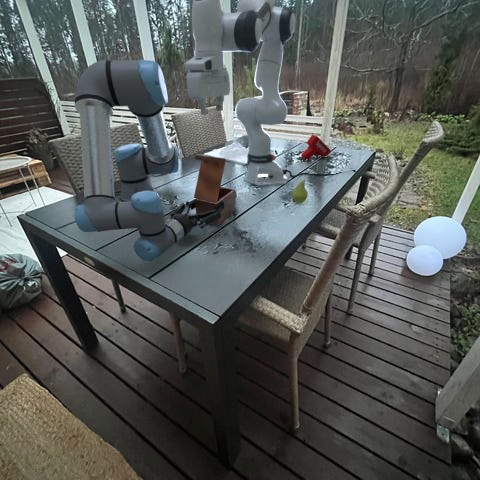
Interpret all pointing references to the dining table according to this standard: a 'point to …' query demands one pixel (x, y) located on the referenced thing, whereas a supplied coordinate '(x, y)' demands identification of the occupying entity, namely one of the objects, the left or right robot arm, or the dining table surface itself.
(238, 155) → the relief map
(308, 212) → the dining table surface
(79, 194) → the dining table surface
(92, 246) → the dining table surface
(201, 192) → the lid
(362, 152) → the dining table surface
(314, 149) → the toy gun
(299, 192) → the fruit
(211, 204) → the chest
